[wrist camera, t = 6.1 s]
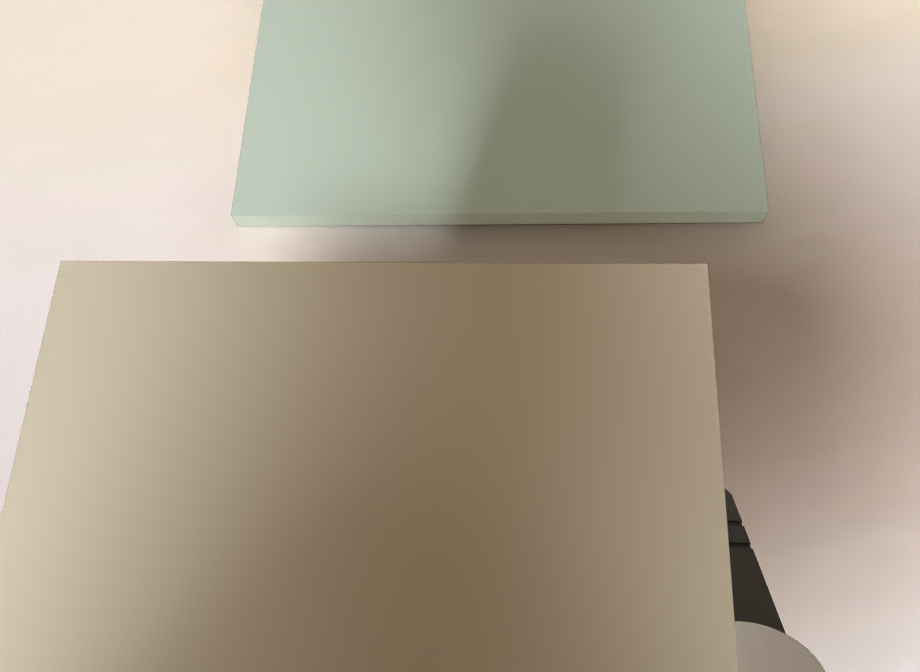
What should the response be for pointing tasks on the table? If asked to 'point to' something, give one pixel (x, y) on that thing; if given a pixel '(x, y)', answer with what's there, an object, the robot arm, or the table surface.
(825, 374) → the table surface
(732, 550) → the robot arm
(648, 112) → the rubber mat
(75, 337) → the walnut block
